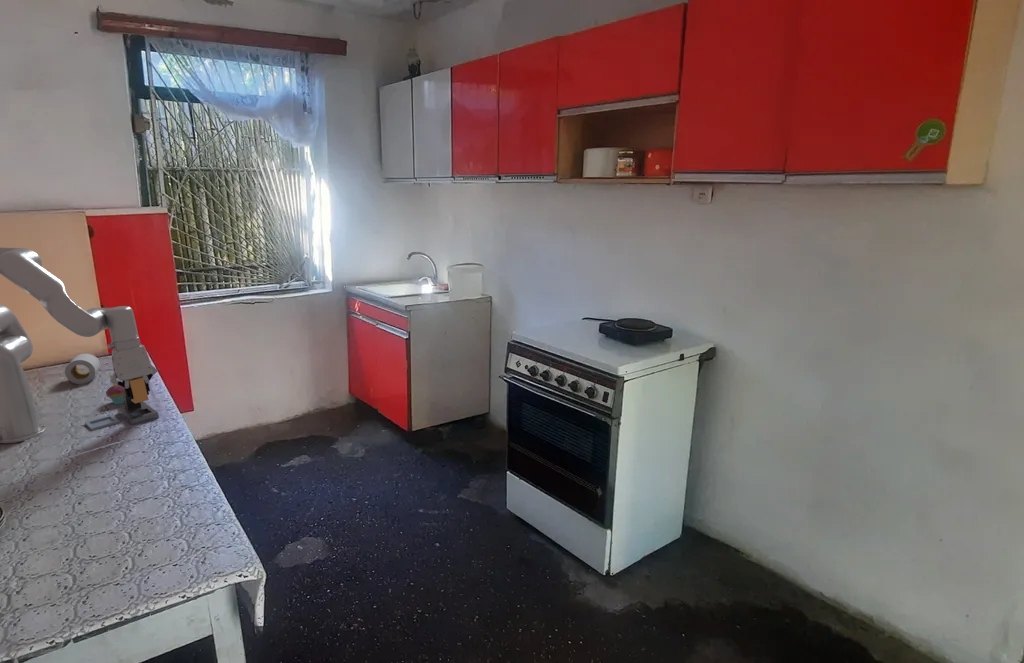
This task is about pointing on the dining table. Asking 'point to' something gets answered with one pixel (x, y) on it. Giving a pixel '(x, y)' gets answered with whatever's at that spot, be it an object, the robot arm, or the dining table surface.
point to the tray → (102, 422)
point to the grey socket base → (136, 411)
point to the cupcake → (116, 393)
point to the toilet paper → (79, 376)
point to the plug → (138, 390)
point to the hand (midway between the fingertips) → (138, 395)
